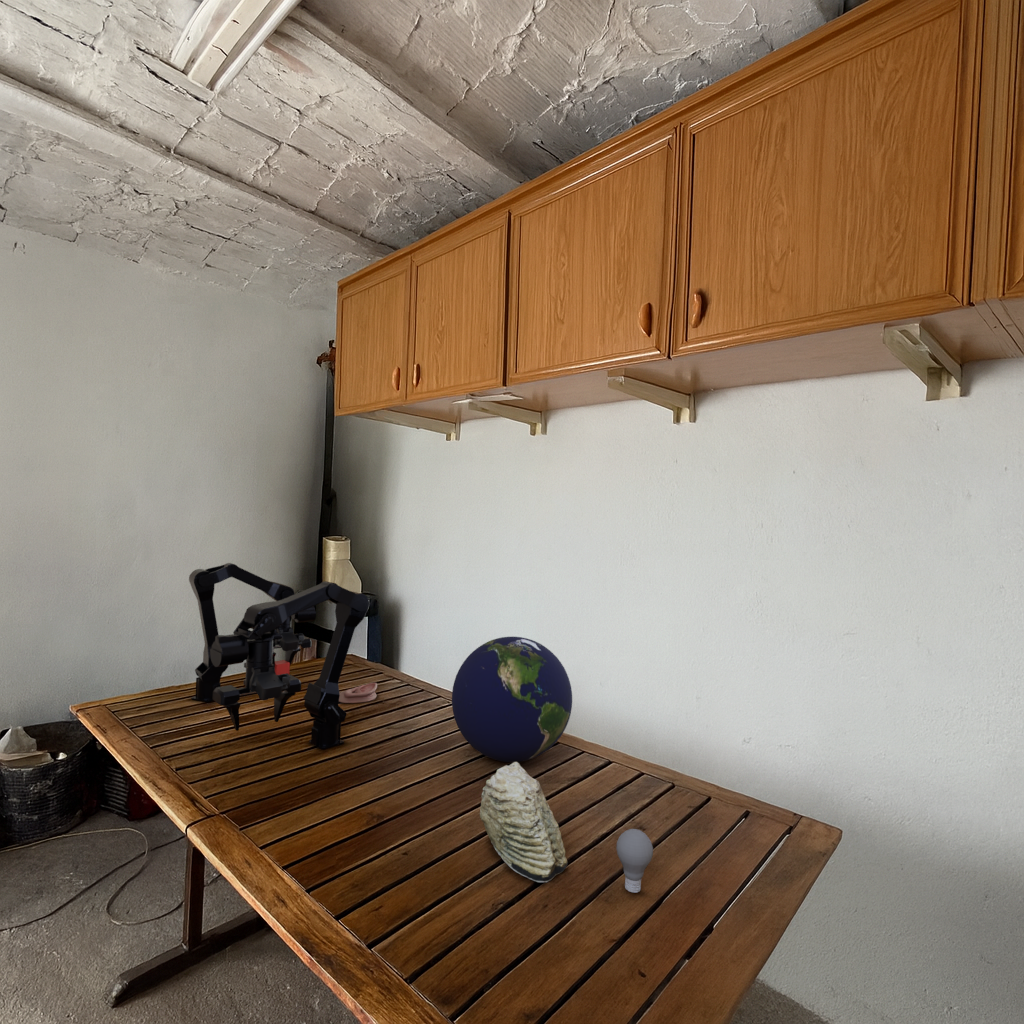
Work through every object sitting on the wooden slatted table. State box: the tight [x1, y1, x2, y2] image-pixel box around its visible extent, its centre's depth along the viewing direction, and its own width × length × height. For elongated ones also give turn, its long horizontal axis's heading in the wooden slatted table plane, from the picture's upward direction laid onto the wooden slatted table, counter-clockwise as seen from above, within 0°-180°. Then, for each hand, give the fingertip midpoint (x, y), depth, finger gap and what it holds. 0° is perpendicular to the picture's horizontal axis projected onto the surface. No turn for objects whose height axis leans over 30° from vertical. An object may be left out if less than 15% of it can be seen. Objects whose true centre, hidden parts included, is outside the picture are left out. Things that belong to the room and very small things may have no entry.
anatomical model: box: [339, 682, 378, 704], centre depth 199 cm, size 13×4×12 cm
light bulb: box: [615, 828, 654, 894], centre depth 106 cm, size 6×6×10 cm
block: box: [275, 659, 291, 675], centre depth 206 cm, size 4×4×4 cm
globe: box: [451, 636, 573, 763], centre depth 158 cm, size 30×30×30 cm
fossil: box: [479, 762, 569, 883], centre depth 114 cm, size 9×18×15 cm, turn 46°
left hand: (280, 671), depth 206 cm, fingers closed on block, 4 cm apart
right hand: (257, 725), depth 148 cm, fingers open, 9 cm apart
